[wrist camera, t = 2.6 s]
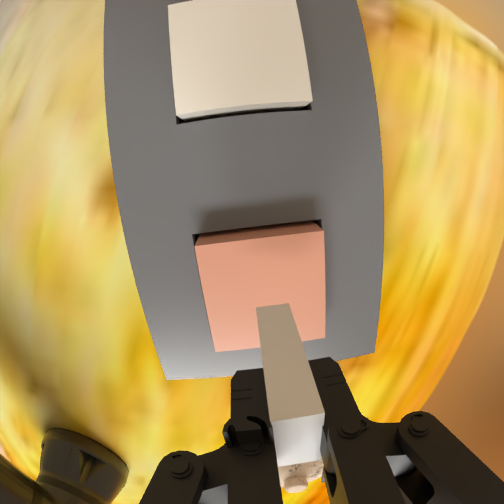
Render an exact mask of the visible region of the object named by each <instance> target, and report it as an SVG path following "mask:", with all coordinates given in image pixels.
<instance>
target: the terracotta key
mask: <svg viewBox="0 0 504 504" xmlns="http://www.w3.org/2000/svg"><path fill="white" fill-rule="evenodd" d="M194 247H195V252H196V258H197V264H198V269H199V274H200V280H201V285H202V290H203V295H204V300H205V305H206V310H207V315H208V320H209V325H210V329H211V334H212V339H213V343H214V348H215V352H222V351H233V350H242V349H251V348H259V347H260V339H259V330H258V322H257V314H256V307H262V306H270V305H278V304H285V303H289V305H290V308H291V311H292V314H293V317H294V320H295V323H296V326H297V329H298V332H299V335H300V338H301V341H309V340H315V339H321V338H325V310H326V300H325V248H324V230H322V229H321V228H320V227H319V226H318V225H317V224H316V223H315V222H313V221H312V220H308V221H299V222H290V223H281V224H272V225H263V226H255V227H247V228H238V229H230V230H222V231H214V232H207V233H200V235H199V237H198V239H197V242H196V244H195V246H194Z"/></svg>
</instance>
